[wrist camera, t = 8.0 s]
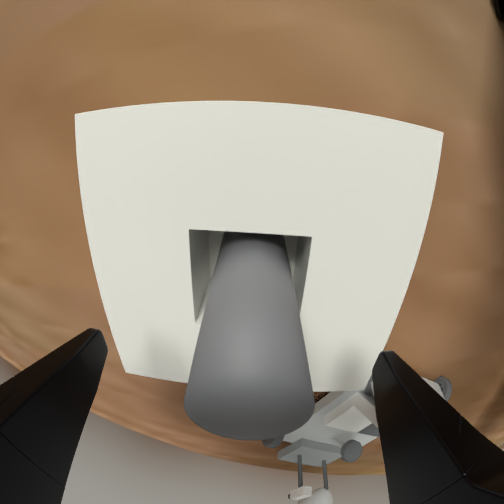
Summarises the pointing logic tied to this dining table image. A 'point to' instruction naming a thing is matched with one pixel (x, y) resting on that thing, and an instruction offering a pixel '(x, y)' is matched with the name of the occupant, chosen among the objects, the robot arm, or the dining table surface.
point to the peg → (250, 345)
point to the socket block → (253, 221)
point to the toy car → (336, 435)
